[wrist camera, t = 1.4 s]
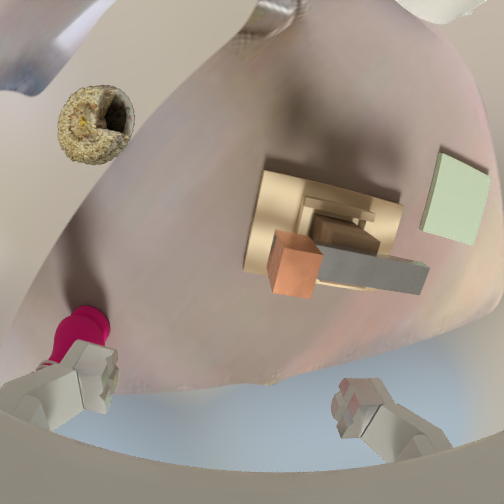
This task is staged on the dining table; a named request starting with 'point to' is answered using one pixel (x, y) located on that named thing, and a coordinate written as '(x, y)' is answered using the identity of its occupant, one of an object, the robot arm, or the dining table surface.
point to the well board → (301, 212)
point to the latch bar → (336, 267)
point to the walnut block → (341, 236)
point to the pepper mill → (78, 332)
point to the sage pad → (455, 200)
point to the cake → (95, 124)
